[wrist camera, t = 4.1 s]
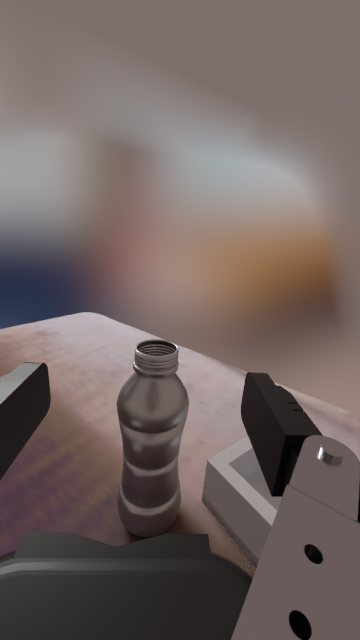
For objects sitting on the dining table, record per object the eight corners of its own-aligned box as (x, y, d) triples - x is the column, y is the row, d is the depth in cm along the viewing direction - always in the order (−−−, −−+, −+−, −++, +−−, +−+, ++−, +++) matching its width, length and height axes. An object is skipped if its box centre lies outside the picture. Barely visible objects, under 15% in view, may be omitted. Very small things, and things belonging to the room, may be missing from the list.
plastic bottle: (188, 533, 27) (210, 360, 21) (123, 560, 24) (125, 371, 18) (167, 480, 33) (179, 331, 26) (112, 497, 30) (110, 336, 24)
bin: (321, 646, 20) (342, 599, 18) (201, 499, 31) (207, 460, 29) (383, 534, 28) (402, 494, 26) (272, 449, 39) (280, 415, 37)
